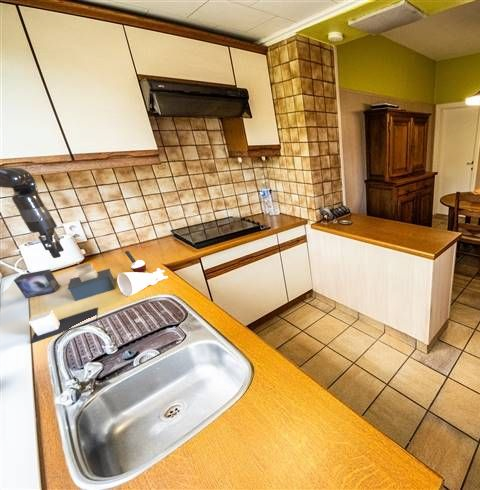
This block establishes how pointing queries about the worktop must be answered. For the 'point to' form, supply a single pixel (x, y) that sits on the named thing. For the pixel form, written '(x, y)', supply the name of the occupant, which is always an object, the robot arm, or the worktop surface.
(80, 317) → the rubber mat
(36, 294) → the small box
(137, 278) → the rocket engine
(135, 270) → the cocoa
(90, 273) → the cream box
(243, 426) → the worktop surface
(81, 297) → the storage box
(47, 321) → the white box
